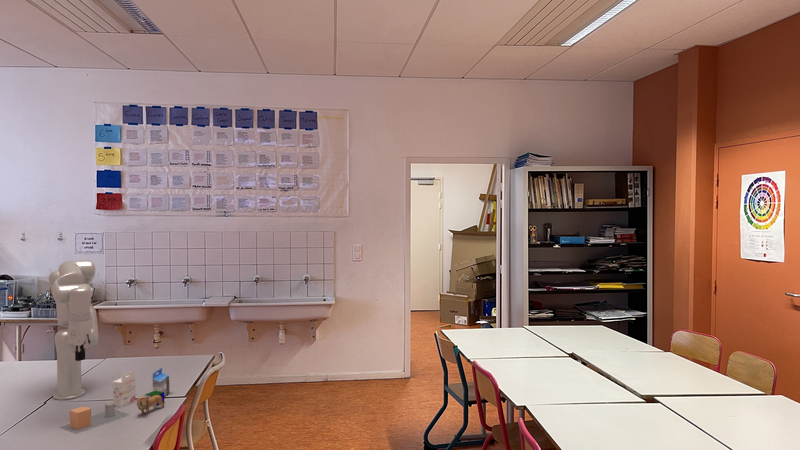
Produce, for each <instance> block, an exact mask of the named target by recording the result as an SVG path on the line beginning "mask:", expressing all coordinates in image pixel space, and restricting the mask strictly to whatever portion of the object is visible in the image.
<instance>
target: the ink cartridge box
mask: <svg viewBox="0 0 800 450" xmlns="http://www.w3.org/2000/svg"><path fill="white" fill-rule="evenodd" d="M135 372H136V371H135V370H134V369H133V370H130V371H129V372H126V373H124V374H121V376H120V378H118V379H115V380H113V381H112V403H115V407H124V406H126V405H129V404H130V403H132V402H134V401H136V374H135Z"/></svg>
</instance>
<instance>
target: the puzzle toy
mask: <svg viewBox="0 0 800 450" xmlns="http://www.w3.org/2000/svg"><path fill="white" fill-rule="evenodd" d="M155 395H160V396H161V397H162V400H163V403H164V404H165V396H164V392H161V391H156V390H155V391H153V390H152V391H150V392H148V393H145V394H144V397H147V398H152V397H153V396H155ZM157 406H160V405H159V404H158V403H157ZM151 407H152V408H154V405H153V406H151Z"/></svg>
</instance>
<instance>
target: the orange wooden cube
mask: <svg viewBox="0 0 800 450" xmlns="http://www.w3.org/2000/svg"><path fill="white" fill-rule="evenodd" d="M91 412H92V409H91V408H90V407H87V406H81V407H80V406H79V407H77V408H73V409H70V410H69V422H70V423H69V424H70V427H72V428H74V429H77V430H78V429H81V428H84V427H86V426H89V425H91V416H92V413H91Z"/></svg>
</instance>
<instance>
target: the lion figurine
mask: <svg viewBox="0 0 800 450" xmlns="http://www.w3.org/2000/svg"><path fill="white" fill-rule="evenodd" d="M157 403H158V404H159V405H157ZM153 405H154V407H153V409H157V406H161V407H162V408H163V409H164V408H165V402H164V403H163V400H162V397H161V396H160V395H155V396H153V397H152V398H147V397H145V395H143V396H139V397H138V398H137V399H136V406H137V408H138V410H140V411H141V414H142V415H143V414H144V413H145V411H146V414H147V415H148V414H150V407H152V406H153Z"/></svg>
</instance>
